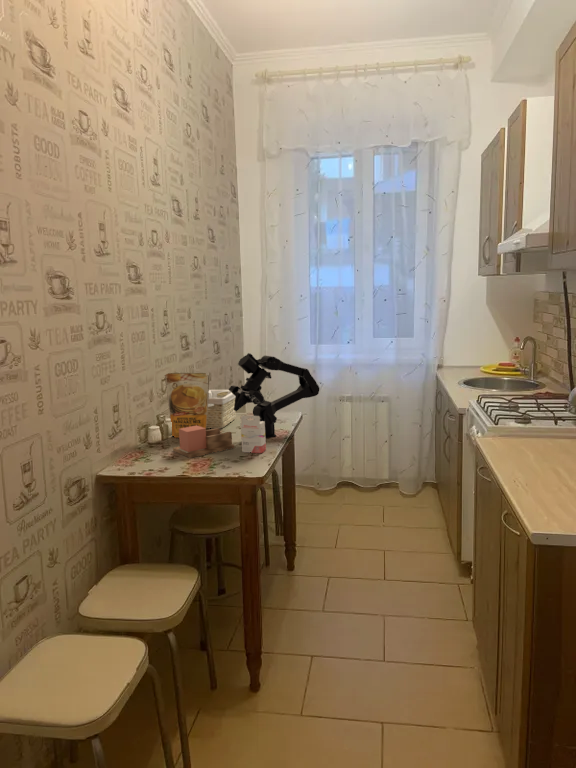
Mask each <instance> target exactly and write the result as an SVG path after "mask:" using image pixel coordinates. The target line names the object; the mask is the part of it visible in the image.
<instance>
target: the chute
mask: <svg viewBox="0 0 576 768" xmlns="http://www.w3.org/2000/svg"><path fill="white" fill-rule="evenodd" d="M232 433H233V432H232V431H227V432H221V428H211V429H210V428H209V429H206V448H205V449H200V450H196V451H191V452H187V451H185V450H182V449H180V446H177V447H173V448H172V449H173V450H172V451H173V452H175V453H176V454H177V453H178V454H180V455H182V456H185V457H187V458H188V459H192V458H197V457H202V456H206V455H210V454H209V453H211V454H213V453H212V452H215V453H218V452H217V451H219V452H223V451H222V450H224V451H227V450H226V449H228V450H231V448H233V449H235V444H233V438H232V437H233V435H232ZM205 454H206V455H205Z"/></svg>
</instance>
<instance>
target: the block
mask: <svg viewBox="0 0 576 768" xmlns="http://www.w3.org/2000/svg"><path fill="white" fill-rule="evenodd" d="M206 430H207V428H203V427H200V426H197V425H196V426H191V427H186V428H181V429H179V438H178V439H179V447H180V449H182V450H185V451H187V452H191V451H196V450H200V449H205V448H206Z"/></svg>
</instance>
